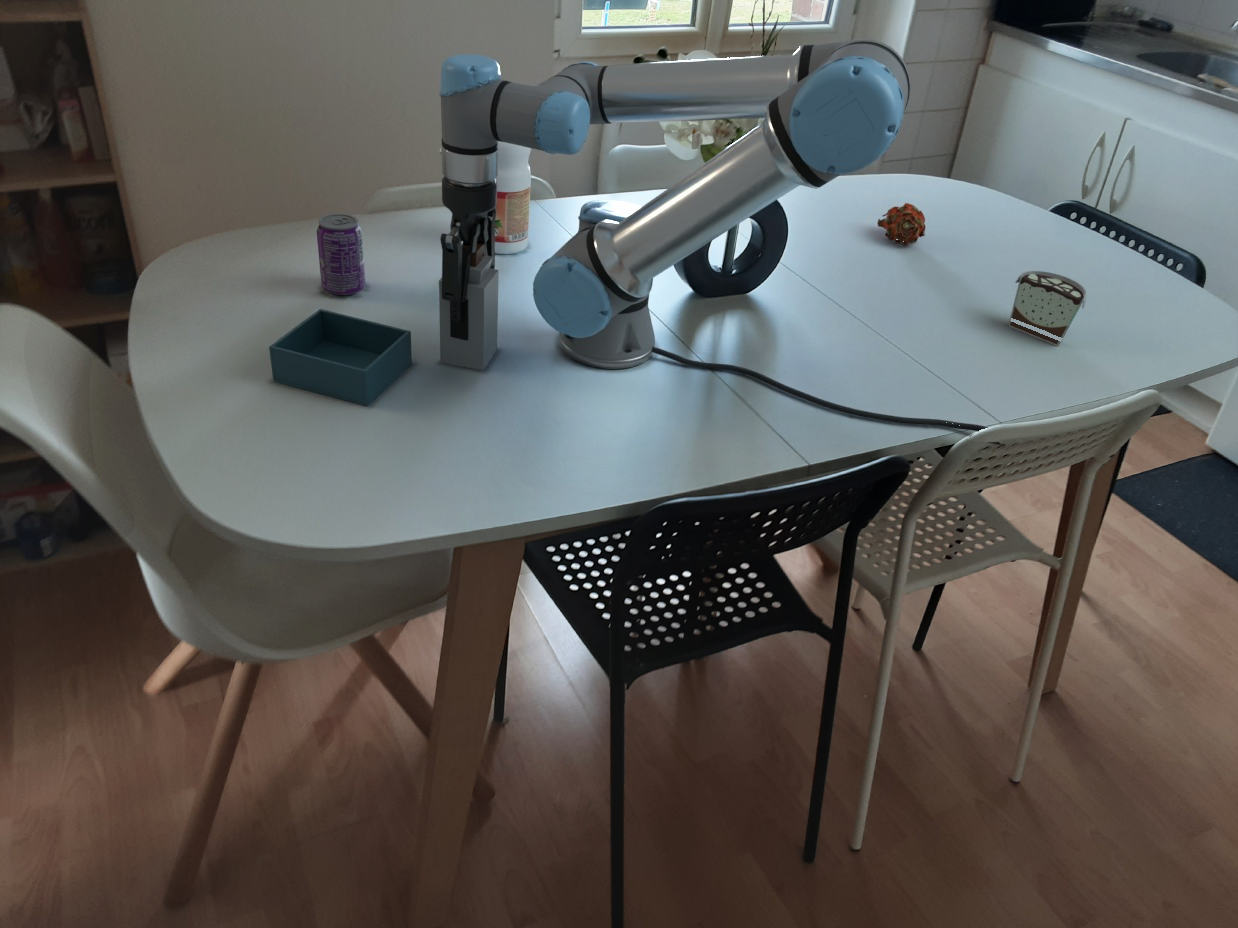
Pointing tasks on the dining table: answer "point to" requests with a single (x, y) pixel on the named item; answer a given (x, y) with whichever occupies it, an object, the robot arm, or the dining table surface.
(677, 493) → the dining table surface
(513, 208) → the fruit juice
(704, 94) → the robot arm
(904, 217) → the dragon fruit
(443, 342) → the perfume bottle
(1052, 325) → the food container
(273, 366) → the case
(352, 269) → the beverage can
